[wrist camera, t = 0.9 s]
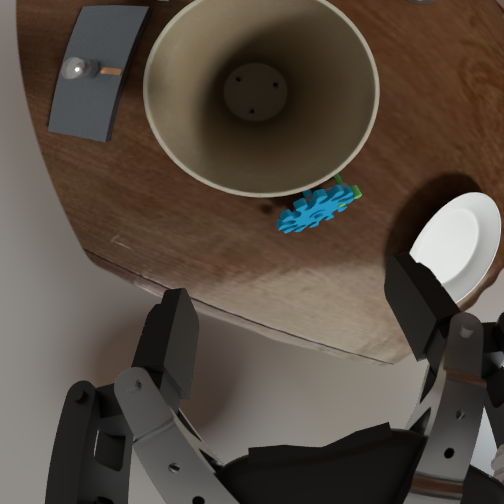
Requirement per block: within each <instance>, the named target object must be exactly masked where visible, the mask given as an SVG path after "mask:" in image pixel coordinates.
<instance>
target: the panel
mask: <svg viewBox="0 0 504 504" xmlns="http://www.w3.org/2000/svg"><path fill="white" fill-rule="evenodd" d="M151 12H152V9H151V8H150V7H146V6H125V5H106V6H85V7H83V8H82V10H81V12H80V15H79V17H78V19H77V22H76V24H75V27H74V30H73V32H72V35H71V38H70V41H69V43H68V46H67V49H66V53H65V56H64V59H63V62H62V66H61V70H60V73H59V77H58V81H57V85H56V90H55V94H54V99H53V104H52V109H51V115H50V121H49V128H48V131H50V132H56V133H61V134H67V135H72V136H77V137H82V138H87V139H92V140H97V141H101V142H107V141H110V140H111V135H112V130H113V126H114V121H115V117H116V113H117V109H118V105H119V101H120V98H121V94H122V91H123V87H124V84H125V81H126V77H127V74H128V71H129V68H130V65H131V62H132V59H133V57H134V54H135V51H136V48H137V46H138V43H139V41H140V38H141V36H142V33H143V31H144V28H145V26H146V24H147V21H148V19H149V17H150V15H151Z"/></svg>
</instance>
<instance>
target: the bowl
mask: <svg viewBox="0 0 504 504" xmlns="http://www.w3.org/2000/svg"><path fill="white" fill-rule="evenodd" d="M500 234H501V219H500V214H499V210H498V208H497V206H496V204H495V202H494V201H493V200H492V199H491V198H490V197H489V196H487V195H485V194H483V193H478V192H472V193H467V194H463V195H461V196H459V197H457V198H455V199H453V200H451V201H450V202H449V203H447V204H446V205H445V206H443V207H442V208H441V209H440V210H439V211H438V212H437V213H436V214H435V215H434V216H433V217H432V218H431V219H430V221H429V222H428V223H427V224H426V225H425V227H424V228H423V230H422V231H421V233H420V234H419V236H418V238H417V239H416V241H415V243H414V245H413V247H412V249H411V251H410V253H409V254H410V255H411V256H412V257H413V259H414V260H415V261H416V262H417V263H418V262H420V263H422V264H423V265H425V266H426V267H428V268H429V269H430V270H431V271H432V272H433V273H434V275H435V276H436V277H437V279H438V280H439V281H440V283H441V284H442V287H444V288H445V289H446V291H447V292H448V294H449V295H450V296H451V298H452V299H453V301H454V302H455V303H457V302H459V301H460V300H461V299H463V298H464V297H465V296H466V295H468V294H469V293H470V292H471V291H472V290H473V289H474V288H475V287H476V286H477V284H478V283H479V282H480V281H481V279H482V278H483V277H484V275H485V274H486V272H487V271H488V269H489V267H490V265H491V263H492V261H493V259H494V257H495V254H496V251H497V248H498V245H499V240H500Z"/></svg>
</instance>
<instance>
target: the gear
mask: <svg viewBox="0 0 504 504" xmlns="http://www.w3.org/2000/svg"><path fill="white" fill-rule="evenodd" d="M334 178H335V180H336V182H337V184H338V185H335V186H333V187H331V188H328V189H325V190H324V189H320V190H316V191H315V192H314V193H313V194H312V192H311V190H310V189H308V190H305V191H302V192H303V194H304V196H305V199H304V198H301V199H299V200H297V201H295V202H293V205H294V207H295V209H296V211H294V212H291V211H290V210H289V209H287V210H285V211H283V212H282V213H281V214H280V215H279V216H280V218H281V219H279V220H278V221H277V223H276V225H277V227H278V229H279V230H281V229H283V231H284V233H288V232H290V231H291V230H293V229H294V231H295V232H299V231H301V230H303V229H304V228H305V227H306V226H307V225H309V227H314V226H317V225H318V224H319V223H318V222H319V221H320V220H321V219H322V218H325V220H328V219H331V218H333V217H334V215H333V213H332V212H333V211H335V210H338V212H341V211H342V210H344V209H345V208H347V206H346V204H348V203H350V202H351V201H353V199H354V198H355V199H356V198H359V197H360V196H361V195H362V194H361V192H360V190H359V189H358V187H357V185H355V186H352V187H351V188H350V186H349V185H348V183H347V182H345V183H343V181H342V179H341V177H340V176H339V174H338V173H337V174H335V175H334ZM353 196H354V197H353Z"/></svg>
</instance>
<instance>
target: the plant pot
mask: <svg viewBox="0 0 504 504" xmlns="http://www.w3.org/2000/svg"><path fill="white" fill-rule="evenodd" d="M236 78H240V81H237V80H236ZM274 83H277V84H278V86H274V85H273V84H274ZM143 99H144V105H145V110H146V115H147V118H148V121H149V124H150V127H151V129H152V131H153V133H154V135H155V137H156V139H157V140H158V142H159V143H160V145H161V146H162V148H163V149H164V151H165V152H166V153H167V154H168V156H169V157H170V158H171V159H172V160H173V161H174V162H175V163H176V164H177V165H178V166H179V167H180V168H182V169H183V170H184V171H185V172H187V173H188V174H189V175H191V176H192V177H194V178H196V179H197V180H199V181H201V182H203V183H205V184H207V185H209V186H211V187H214V188H216V189H219V190H222V191H224V192H228V193H232V194H236V195H241V196H248V197H277V196H285V195H290V194H294V193H298V192H301V191H305V190H308V189H310V188H313V187H315V186H317V185H319V184H321V183H322V182H324V181H326V180H328V179H329V178H331V177H332V176H334V175H335V174H337V173H338V172H339V171H340V170H342V169H343V168H344V167H345V166H346V165H347V164H348V163H349V162H350V161H351V160H352V159H353V158H354V157H355V156H356V155H357V153H358V152H359V151H360V149H361V148H362V146H363V145H364V143H365V141H366V140H367V138H368V136H369V134H370V132H371V129H372V127H373V124H374V121H375V118H376V114H377V110H378V103H379V78H378V73H377V68H376V65H375V61H374V58H373V55H372V53H371V51H370V48H369V46H368V44H367V43H366V41H365V39H364V37H363V36H362V34H361V33H360V32H359V30H358V29H357V28H356V26H355V25H354V24H353V23H352V22H351V20H350V19H349V18H348V17H347V16H345V15H344V14H343V13H342V12H341V11H340V10H339V9H337V8H336V7H335V6H333V5H332V4H330V3H329V2H327V1H326V0H195V1H193V2H192V3H190V4H189V5H187V6H186V7H185V8H183V9H182V10H181V11H180V12H179V13H178V14H176V15H175V16H174V17H173V18H172V19H171V20H170V22H169V23H168V24H167V25H166V26H165V28H164V29H163V30H162V32H161V34H160V35H159V37H158V38H157V40H156V42H155V43H154V45H153V47H152V49H151V52H150V54H149V57H148V60H147V64H146V68H145V72H144V80H143ZM251 110H254V113H251Z"/></svg>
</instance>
